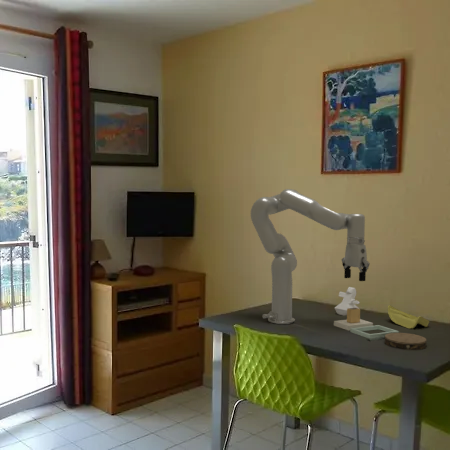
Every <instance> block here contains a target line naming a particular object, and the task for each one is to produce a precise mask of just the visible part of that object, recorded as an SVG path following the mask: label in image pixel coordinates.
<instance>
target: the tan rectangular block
mask: <svg viewBox="0 0 450 450" xmlns="http://www.w3.org/2000/svg"><path fill="white" fill-rule="evenodd" d="M358 308H359V307H358ZM358 308H348V309H347V315H346V320H347V322H348V323H359V322H360V319H361V308H359V309H358Z"/></svg>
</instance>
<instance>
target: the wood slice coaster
mask: <svg viewBox="0 0 450 450" xmlns="http://www.w3.org/2000/svg"><path fill="white" fill-rule="evenodd" d="M384 344H385V345H387V346H388V347H391V348H394V349H400V350H408V351H417V350H423V349H426V348H427V338H426V337H424V336H422V335H418V334H414V333H408V332H399V333H389V334H386V335H385V339H384Z"/></svg>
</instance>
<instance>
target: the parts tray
mask: <svg viewBox="0 0 450 450" xmlns="http://www.w3.org/2000/svg"><path fill="white" fill-rule="evenodd" d="M373 330H374V331H375V330H380V331H381V332H379V333H368V332H369V331H373ZM349 331H350V332H349V333H352V334H355V335H358V336H361V337H364V338H367V341H369V342H372V341H380V340H385V335H386V334H389V333H400V331H399V330H396V329H392V328H390V327H386V326H384V325H379V324H377V325H373V326H367V327H359V328H351V330H349ZM367 331H368V332H367Z"/></svg>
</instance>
